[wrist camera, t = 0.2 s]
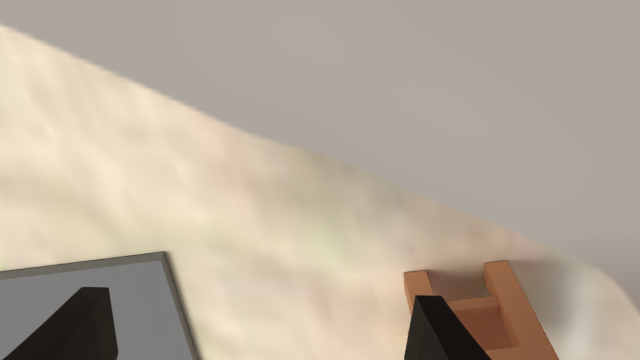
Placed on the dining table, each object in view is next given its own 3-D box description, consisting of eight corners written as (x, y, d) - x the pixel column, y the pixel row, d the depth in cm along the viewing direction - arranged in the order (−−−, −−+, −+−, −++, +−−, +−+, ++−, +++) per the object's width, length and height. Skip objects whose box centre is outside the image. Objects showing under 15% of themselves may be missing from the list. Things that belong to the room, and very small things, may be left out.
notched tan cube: (503, 336, 27) (551, 447, 22) (408, 347, 28) (434, 460, 22) (506, 260, 25) (561, 364, 20) (403, 272, 25) (430, 379, 20)
